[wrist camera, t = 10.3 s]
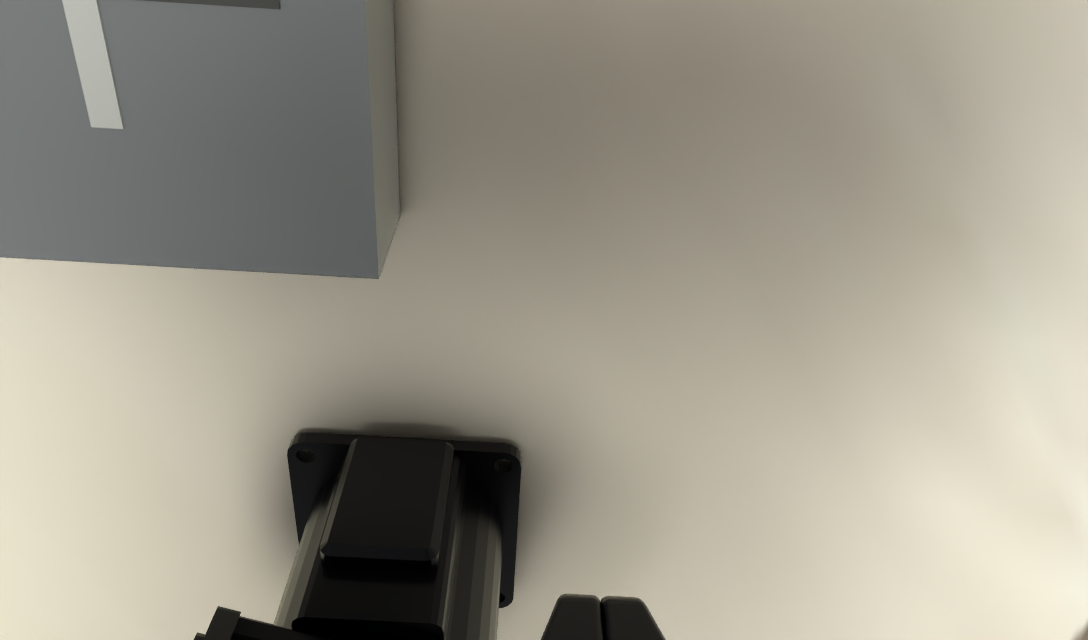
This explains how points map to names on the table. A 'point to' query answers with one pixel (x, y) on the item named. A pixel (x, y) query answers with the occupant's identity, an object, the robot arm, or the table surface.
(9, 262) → the table surface
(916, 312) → the table surface
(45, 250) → the console
